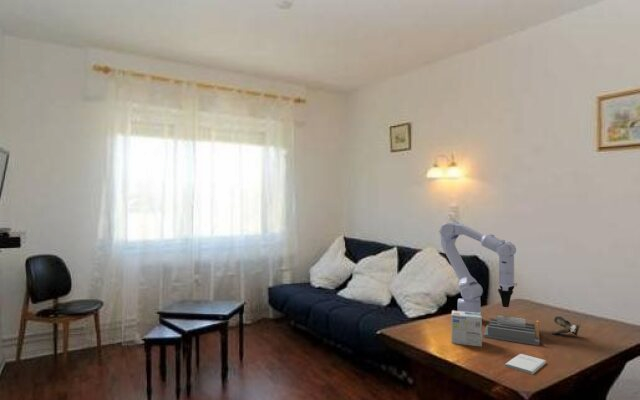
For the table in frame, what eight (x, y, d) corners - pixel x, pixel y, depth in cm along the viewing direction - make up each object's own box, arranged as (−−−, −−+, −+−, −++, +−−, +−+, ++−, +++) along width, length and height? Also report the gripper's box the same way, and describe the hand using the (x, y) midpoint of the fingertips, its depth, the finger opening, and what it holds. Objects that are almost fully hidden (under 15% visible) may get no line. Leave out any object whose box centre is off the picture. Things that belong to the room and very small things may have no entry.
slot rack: (483, 337, 156) (483, 318, 156) (487, 326, 169) (487, 310, 169) (539, 345, 147) (539, 326, 147) (538, 334, 160) (539, 316, 160)
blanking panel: (496, 331, 160) (496, 316, 160) (497, 330, 161) (497, 315, 161) (525, 335, 155) (525, 319, 155) (525, 334, 157) (525, 318, 157)
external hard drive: (504, 368, 129) (519, 357, 138) (532, 376, 123) (546, 364, 132) (504, 363, 129) (519, 352, 138) (532, 371, 123) (546, 359, 132)
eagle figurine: (579, 330, 161) (553, 322, 166) (581, 318, 157) (555, 310, 163) (575, 345, 156) (549, 336, 162) (577, 333, 153) (550, 324, 158)
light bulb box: (481, 341, 152) (481, 312, 152) (482, 347, 146) (482, 317, 146) (451, 337, 156) (451, 309, 156) (451, 343, 149) (451, 314, 149)
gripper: (516, 275, 160) (516, 310, 160) (517, 270, 173) (517, 301, 173) (497, 274, 163) (496, 307, 163) (499, 268, 176) (499, 299, 176)
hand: (506, 304), depth 168 cm, fingers open, 7 cm apart
